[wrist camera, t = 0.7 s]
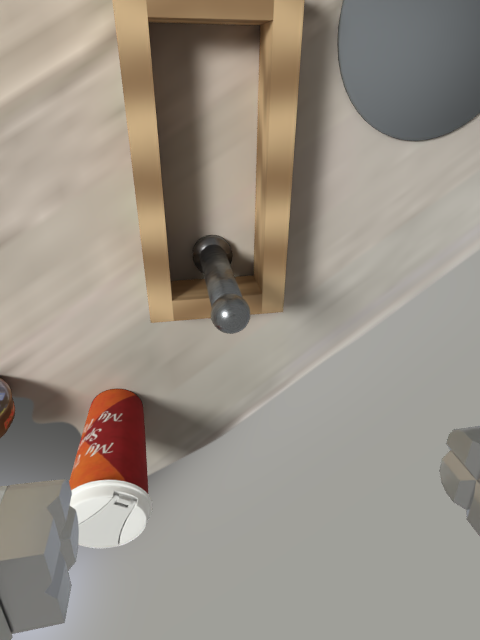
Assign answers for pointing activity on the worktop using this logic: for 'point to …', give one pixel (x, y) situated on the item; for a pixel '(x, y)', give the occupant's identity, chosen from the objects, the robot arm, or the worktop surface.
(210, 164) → the worktop surface
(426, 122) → the slate mat
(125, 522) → the paper cup
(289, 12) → the oak link
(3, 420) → the tin
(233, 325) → the grey metal rod
